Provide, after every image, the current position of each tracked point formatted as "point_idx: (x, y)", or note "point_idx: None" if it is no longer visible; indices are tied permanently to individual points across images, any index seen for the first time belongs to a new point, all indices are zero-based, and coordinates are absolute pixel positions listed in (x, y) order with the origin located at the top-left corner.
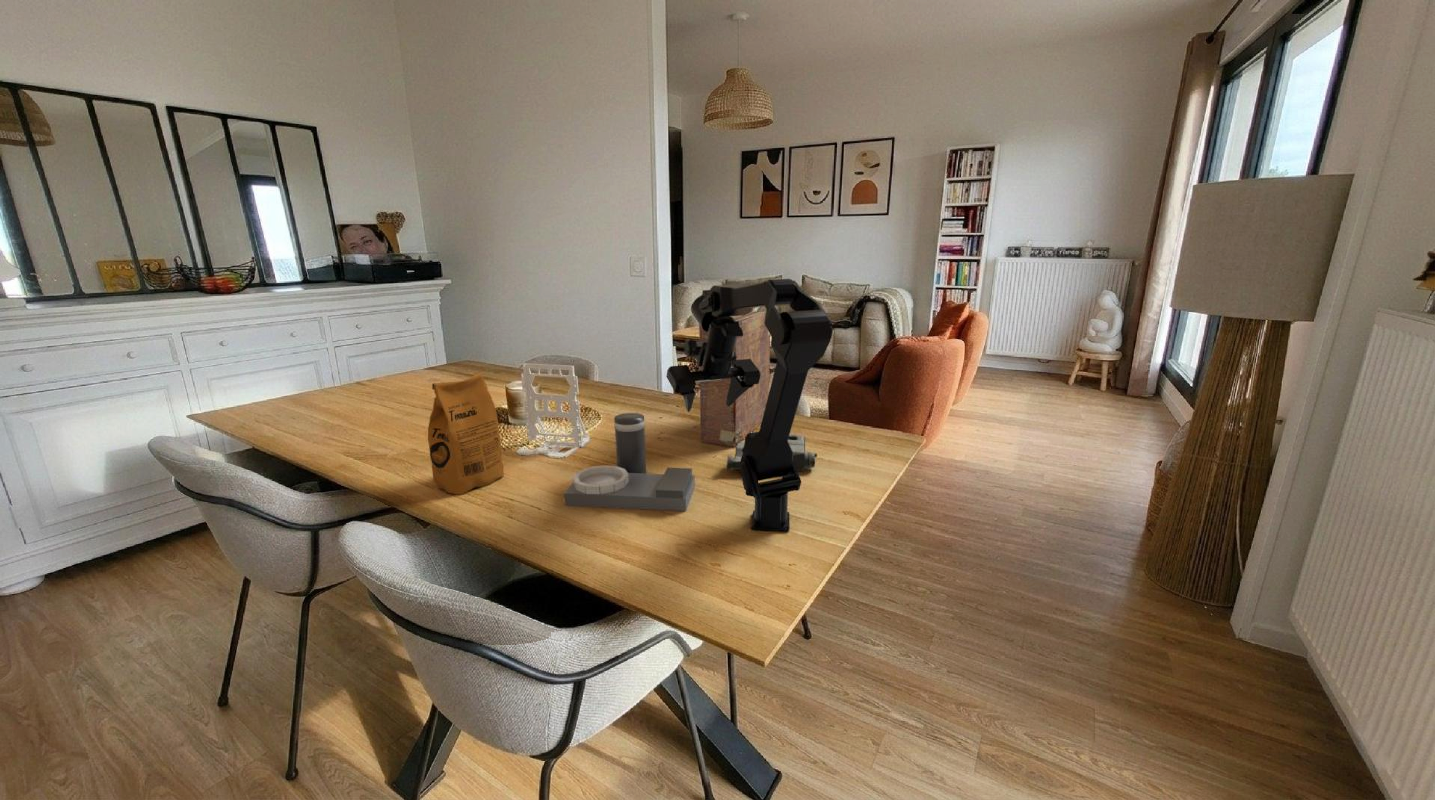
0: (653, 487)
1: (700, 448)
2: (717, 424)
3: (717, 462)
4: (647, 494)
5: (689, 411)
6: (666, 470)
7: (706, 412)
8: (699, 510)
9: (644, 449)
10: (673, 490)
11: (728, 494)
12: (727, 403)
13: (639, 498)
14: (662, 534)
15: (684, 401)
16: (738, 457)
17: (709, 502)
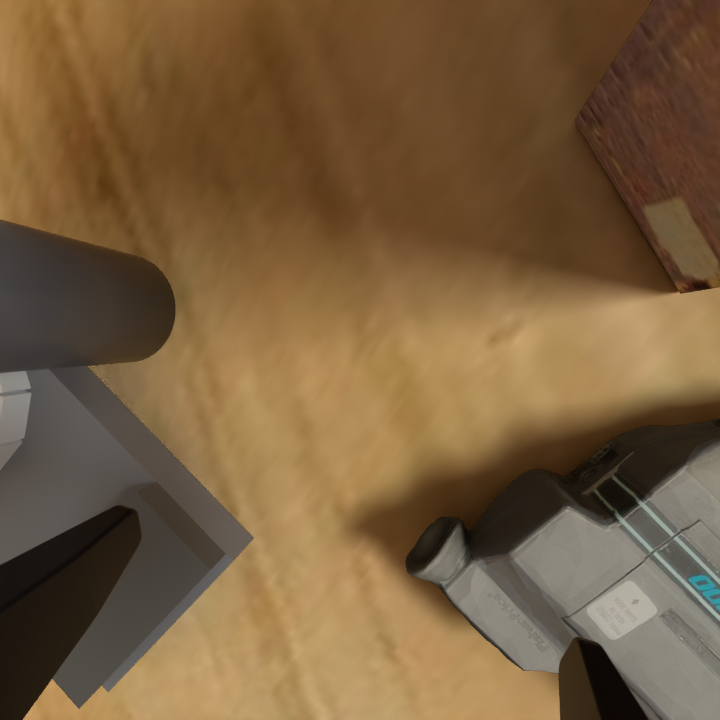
0: None
1: (515, 201)
2: (686, 162)
3: (469, 400)
4: None
5: (137, 543)
6: None
7: (685, 41)
8: (174, 681)
9: (66, 354)
10: (56, 682)
11: (313, 663)
12: (570, 679)
13: None
14: (29, 714)
15: (18, 556)
16: (479, 579)
17: (228, 662)
